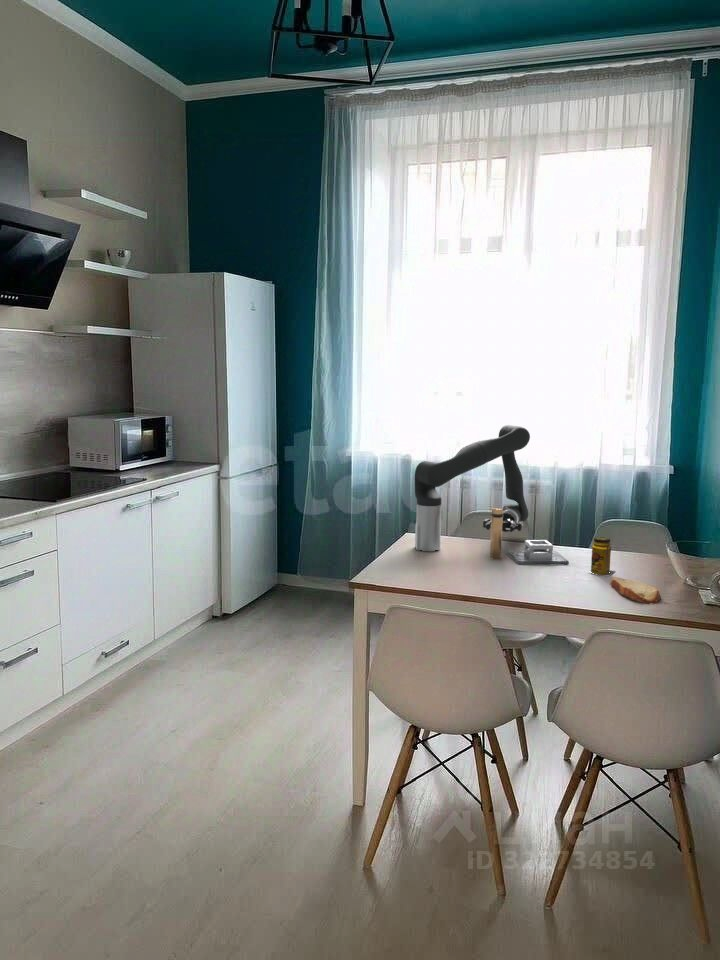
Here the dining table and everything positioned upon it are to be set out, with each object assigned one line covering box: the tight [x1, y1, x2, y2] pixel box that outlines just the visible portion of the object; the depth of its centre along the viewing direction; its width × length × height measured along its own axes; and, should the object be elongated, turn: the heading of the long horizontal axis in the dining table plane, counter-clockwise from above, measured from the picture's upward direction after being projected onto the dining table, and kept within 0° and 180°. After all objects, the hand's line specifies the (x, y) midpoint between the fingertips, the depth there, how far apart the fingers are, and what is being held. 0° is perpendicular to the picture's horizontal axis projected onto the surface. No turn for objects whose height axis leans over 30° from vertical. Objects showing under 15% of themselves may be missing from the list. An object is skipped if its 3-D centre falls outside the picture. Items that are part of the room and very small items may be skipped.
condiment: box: [589, 536, 616, 577], centre depth 249 cm, size 7×8×12 cm
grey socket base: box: [508, 539, 570, 565], centre depth 265 cm, size 18×14×6 cm
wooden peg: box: [489, 507, 504, 560], centre depth 266 cm, size 4×4×18 cm
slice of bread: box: [609, 577, 662, 605], centre depth 227 cm, size 18×18×4 cm
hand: (499, 528), depth 270 cm, fingers open, 8 cm apart
